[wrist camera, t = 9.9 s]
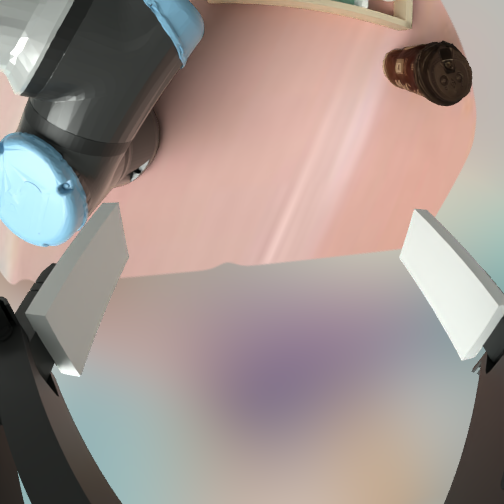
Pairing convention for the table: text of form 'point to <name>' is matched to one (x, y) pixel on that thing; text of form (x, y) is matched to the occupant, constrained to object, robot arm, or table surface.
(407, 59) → the coffee cup
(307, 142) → the table surface
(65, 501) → the robot arm
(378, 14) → the pitch
